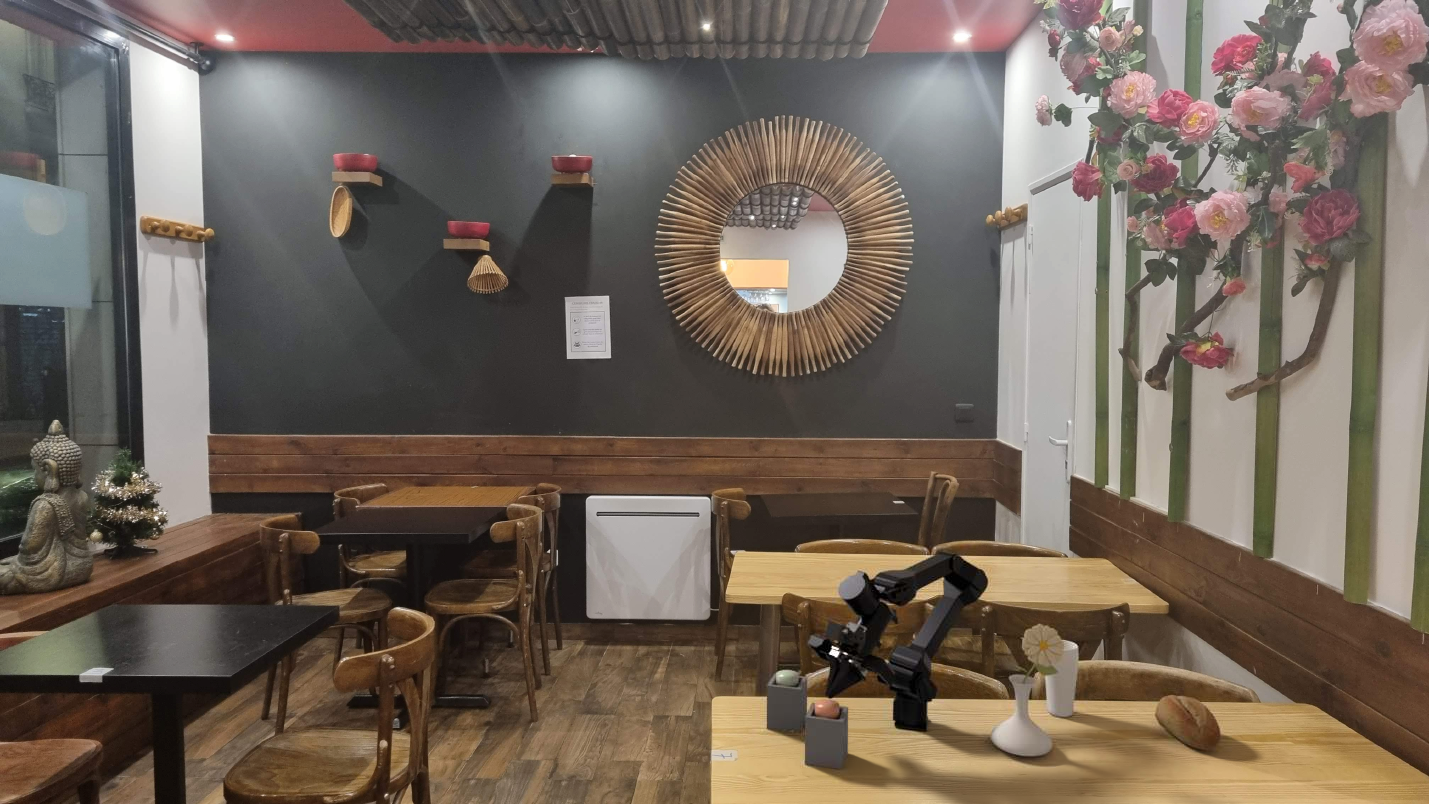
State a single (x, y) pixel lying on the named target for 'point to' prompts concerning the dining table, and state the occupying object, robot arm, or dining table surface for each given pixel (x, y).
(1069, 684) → the drinking glass
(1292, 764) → the dining table surface
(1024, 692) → the flower in vase
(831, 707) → the terracotta button
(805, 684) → the grey square socket
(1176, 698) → the bread roll
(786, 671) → the sage button
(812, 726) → the grey square housing
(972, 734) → the dining table surface
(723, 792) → the dining table surface
